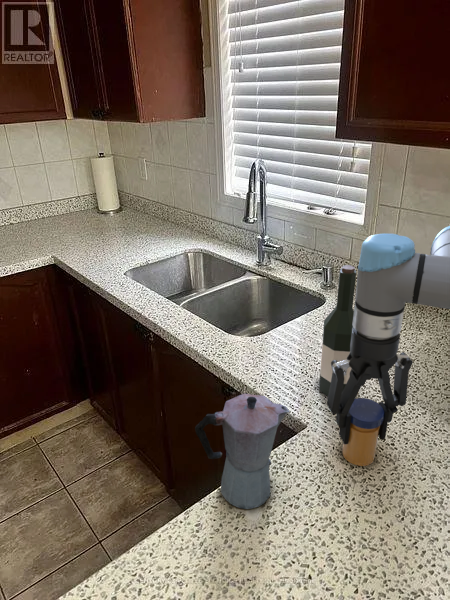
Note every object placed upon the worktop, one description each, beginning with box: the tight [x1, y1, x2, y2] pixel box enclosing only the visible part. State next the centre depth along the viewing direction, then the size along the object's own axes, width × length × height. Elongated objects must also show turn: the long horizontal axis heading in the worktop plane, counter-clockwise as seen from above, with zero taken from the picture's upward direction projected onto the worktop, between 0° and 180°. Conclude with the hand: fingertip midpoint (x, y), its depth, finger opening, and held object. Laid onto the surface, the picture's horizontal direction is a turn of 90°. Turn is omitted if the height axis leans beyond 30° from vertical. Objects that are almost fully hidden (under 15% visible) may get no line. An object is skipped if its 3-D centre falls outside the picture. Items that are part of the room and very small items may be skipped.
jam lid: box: [349, 397, 384, 429], centre depth 80 cm, size 6×6×2 cm
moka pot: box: [194, 393, 291, 510], centre depth 74 cm, size 10×15×20 cm, turn 107°
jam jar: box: [341, 423, 380, 467], centre depth 83 cm, size 6×6×9 cm
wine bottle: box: [318, 264, 357, 397], centre depth 96 cm, size 8×8×30 cm
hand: (361, 436), depth 83 cm, fingers closed on jam lid, 6 cm apart
